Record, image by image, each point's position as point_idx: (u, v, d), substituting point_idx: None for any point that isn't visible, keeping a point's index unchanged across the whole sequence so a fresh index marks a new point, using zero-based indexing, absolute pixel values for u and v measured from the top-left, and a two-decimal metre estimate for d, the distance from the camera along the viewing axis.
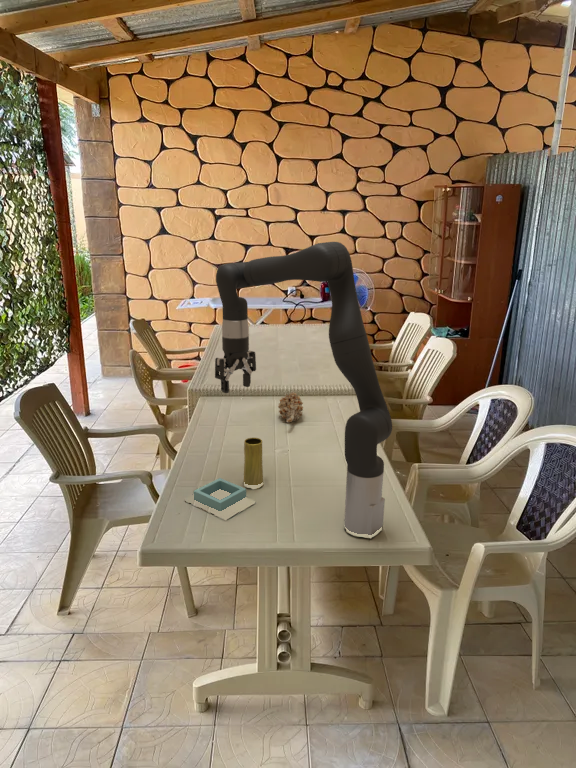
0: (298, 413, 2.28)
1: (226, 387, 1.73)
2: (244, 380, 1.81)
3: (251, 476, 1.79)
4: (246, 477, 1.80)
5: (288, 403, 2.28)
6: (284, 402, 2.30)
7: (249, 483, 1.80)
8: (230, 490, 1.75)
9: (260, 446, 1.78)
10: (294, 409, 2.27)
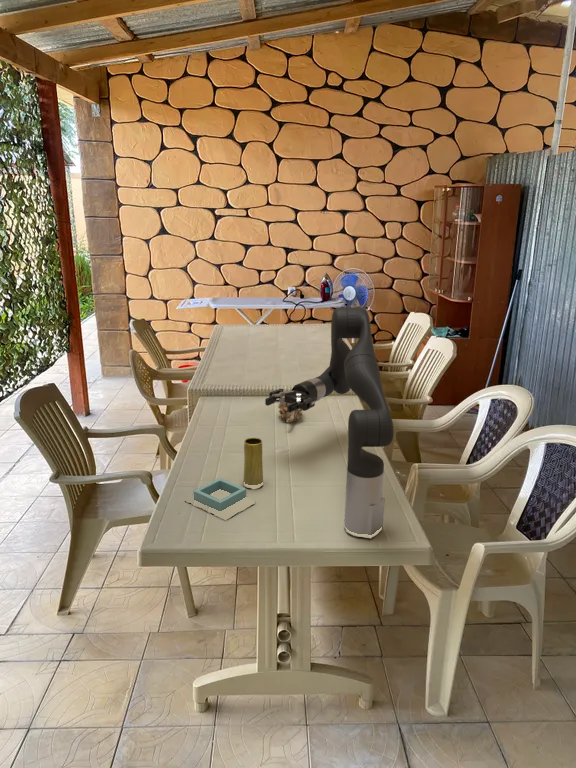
0: (298, 413, 2.28)
1: None
2: None
3: (251, 476, 1.79)
4: (246, 477, 1.80)
5: (288, 403, 2.28)
6: None
7: (249, 483, 1.80)
8: (230, 490, 1.75)
9: (260, 446, 1.78)
10: None
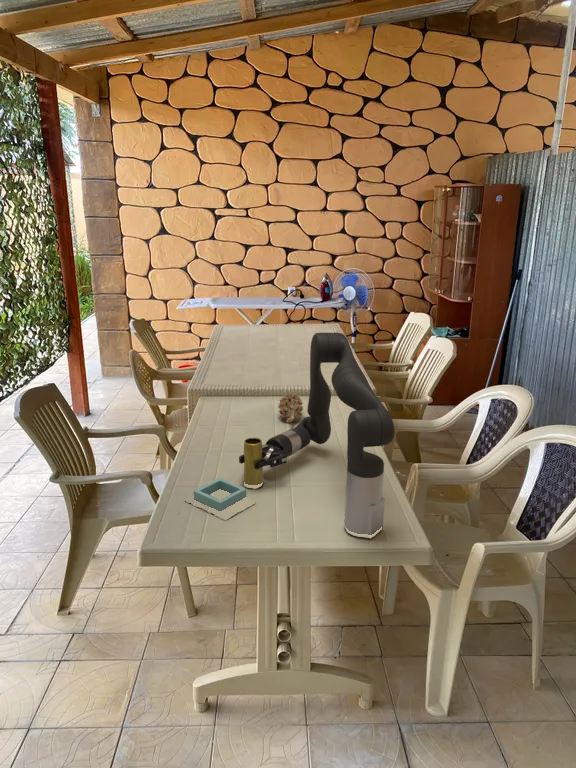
0: (298, 413, 2.28)
1: (242, 455, 1.82)
2: None
3: (251, 476, 1.79)
4: (246, 477, 1.80)
5: (288, 403, 2.28)
6: (284, 402, 2.30)
7: (249, 483, 1.80)
8: (230, 490, 1.75)
9: (260, 446, 1.78)
10: (294, 409, 2.27)
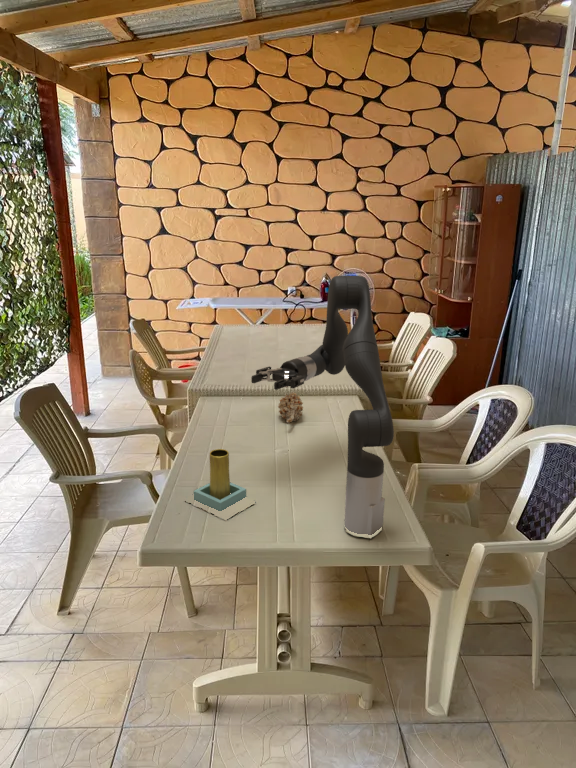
0: (298, 413, 2.28)
1: None
2: None
3: (217, 490, 1.69)
4: (212, 491, 1.70)
5: (288, 403, 2.28)
6: (284, 402, 2.30)
7: (215, 497, 1.70)
8: (230, 490, 1.75)
9: (226, 458, 1.67)
10: (294, 409, 2.27)
